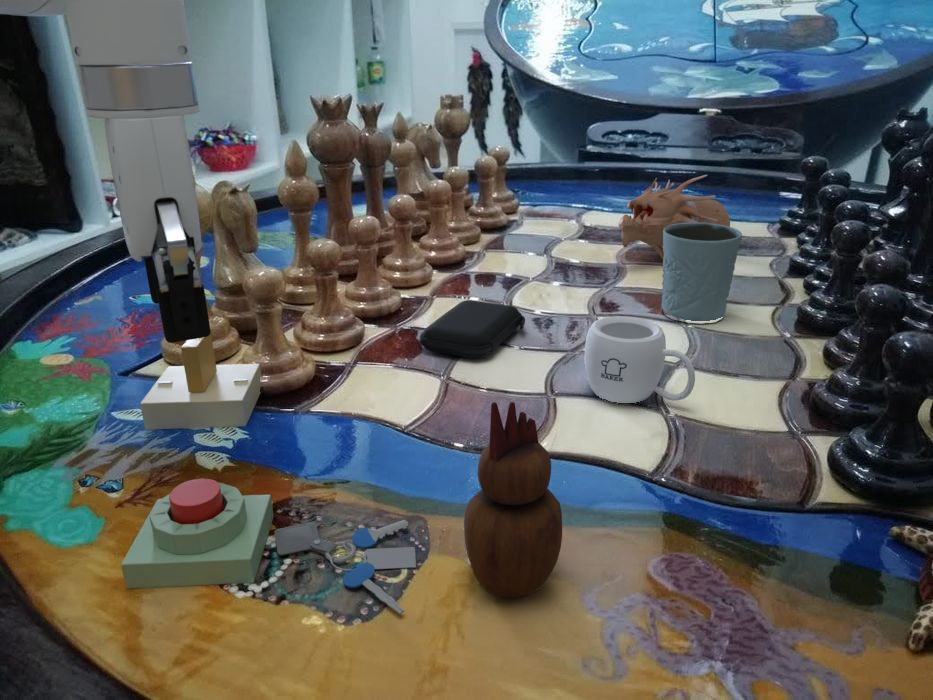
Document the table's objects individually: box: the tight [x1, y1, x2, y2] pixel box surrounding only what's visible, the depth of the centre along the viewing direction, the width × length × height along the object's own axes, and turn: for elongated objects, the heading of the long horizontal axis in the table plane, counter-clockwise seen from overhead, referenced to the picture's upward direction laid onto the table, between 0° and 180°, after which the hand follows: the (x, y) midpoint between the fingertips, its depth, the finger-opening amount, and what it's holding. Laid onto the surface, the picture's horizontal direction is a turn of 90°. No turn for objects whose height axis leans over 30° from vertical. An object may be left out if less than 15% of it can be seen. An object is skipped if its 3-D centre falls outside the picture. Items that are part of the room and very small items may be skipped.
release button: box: [169, 478, 223, 524], centre depth 54 cm, size 4×4×2 cm
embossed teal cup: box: [661, 222, 743, 321], centre depth 101 cm, size 10×10×12 cm
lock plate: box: [139, 363, 262, 431], centre depth 77 cm, size 10×9×3 cm
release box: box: [120, 482, 275, 590], centre depth 55 cm, size 9×8×4 cm
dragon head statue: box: [618, 174, 731, 260], centre depth 125 cm, size 13×15×25 cm
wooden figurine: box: [463, 401, 563, 598], centre depth 50 cm, size 7×6×15 cm
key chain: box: [273, 519, 417, 615], centre depth 56 cm, size 14×8×1 cm, turn 56°
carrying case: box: [419, 299, 526, 360], centre depth 94 cm, size 11×3×15 cm
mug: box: [584, 315, 696, 404], centre depth 78 cm, size 12×8×8 cm
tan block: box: [180, 332, 217, 392], centre depth 76 cm, size 5×2×5 cm, turn 3°
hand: (179, 318), depth 59 cm, fingers open, 9 cm apart
